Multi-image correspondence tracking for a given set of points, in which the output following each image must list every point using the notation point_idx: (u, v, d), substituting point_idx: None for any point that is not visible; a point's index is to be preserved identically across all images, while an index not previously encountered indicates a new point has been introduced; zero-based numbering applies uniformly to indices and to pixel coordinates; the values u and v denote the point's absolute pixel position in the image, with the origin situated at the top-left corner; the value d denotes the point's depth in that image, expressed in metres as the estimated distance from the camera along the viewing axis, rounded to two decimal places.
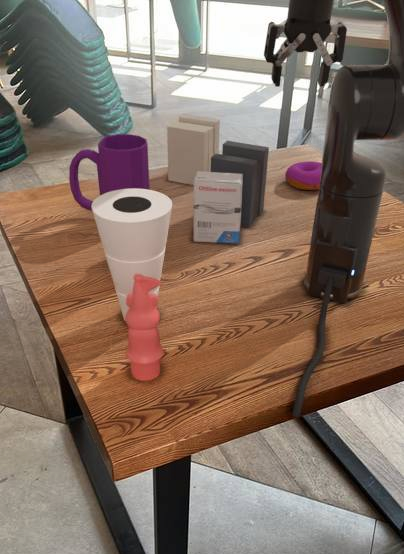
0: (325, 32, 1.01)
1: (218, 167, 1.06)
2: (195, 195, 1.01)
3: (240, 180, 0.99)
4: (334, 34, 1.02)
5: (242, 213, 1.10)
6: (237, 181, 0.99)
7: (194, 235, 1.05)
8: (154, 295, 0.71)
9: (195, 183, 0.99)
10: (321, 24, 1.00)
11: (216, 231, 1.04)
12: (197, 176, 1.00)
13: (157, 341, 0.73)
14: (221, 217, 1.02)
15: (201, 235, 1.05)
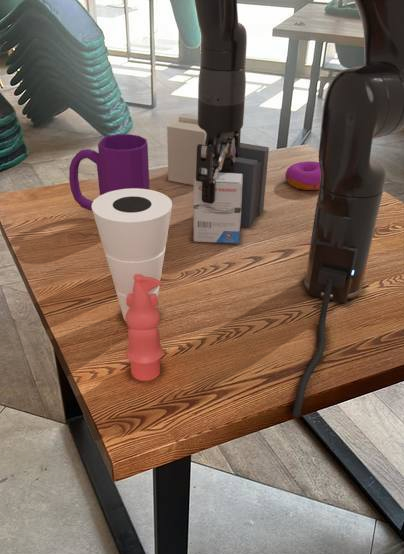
0: (232, 135, 0.98)
1: None
2: (195, 195, 1.01)
3: (240, 180, 0.99)
4: None
5: (242, 213, 1.10)
6: (237, 181, 0.99)
7: (194, 235, 1.05)
8: (154, 295, 0.71)
9: (195, 183, 0.99)
10: None
11: (216, 231, 1.04)
12: None
13: (157, 341, 0.73)
14: (221, 217, 1.02)
15: (201, 235, 1.05)
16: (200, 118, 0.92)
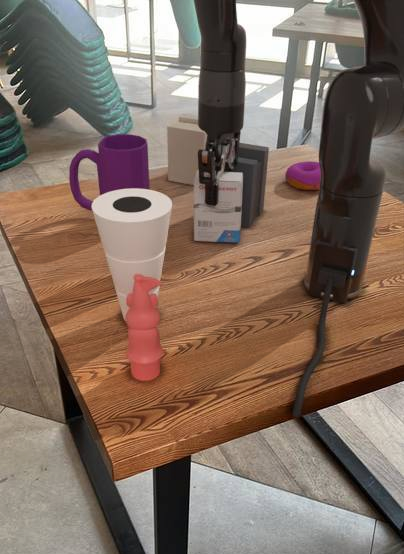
0: (232, 136, 0.98)
1: None
2: (196, 194, 1.00)
3: (240, 179, 0.99)
4: (232, 138, 1.00)
5: (242, 213, 1.10)
6: (237, 180, 0.98)
7: (194, 234, 1.05)
8: (154, 295, 0.71)
9: (195, 182, 0.99)
10: None
11: (216, 230, 1.04)
12: (197, 175, 1.00)
13: (157, 341, 0.73)
14: (221, 216, 1.02)
15: (201, 235, 1.05)
16: (200, 119, 0.92)
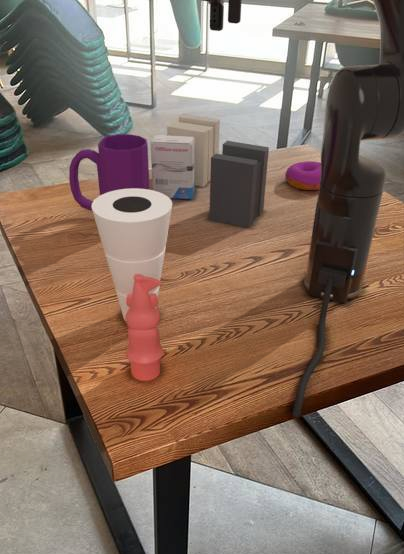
0: None
1: (218, 167, 1.06)
2: (153, 155, 1.16)
3: (191, 141, 1.14)
4: None
5: (242, 213, 1.10)
6: (188, 142, 1.14)
7: None
8: (154, 295, 0.71)
9: (152, 144, 1.14)
10: None
11: (172, 187, 1.19)
12: (154, 138, 1.15)
13: (157, 341, 0.73)
14: (175, 175, 1.18)
15: None
16: None
